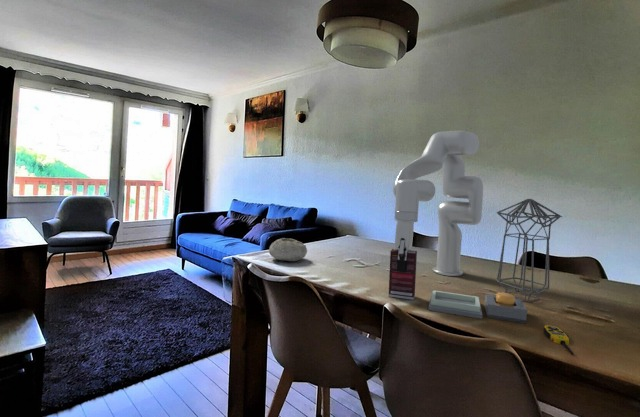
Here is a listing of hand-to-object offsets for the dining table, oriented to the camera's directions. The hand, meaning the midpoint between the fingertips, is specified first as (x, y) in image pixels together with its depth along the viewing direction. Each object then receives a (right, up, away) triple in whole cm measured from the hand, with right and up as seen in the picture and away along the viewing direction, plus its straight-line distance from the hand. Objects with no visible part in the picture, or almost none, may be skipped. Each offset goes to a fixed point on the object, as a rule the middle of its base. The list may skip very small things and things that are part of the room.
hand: (403, 269), depth 117 cm
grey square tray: (+15, -11, -7) cm, 20 cm away
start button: (+28, -9, -12) cm, 32 cm away
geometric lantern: (+43, -11, +5) cm, 45 cm away
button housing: (+28, -12, -12) cm, 32 cm away
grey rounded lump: (-44, -4, +46) cm, 64 cm away
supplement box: (0, -10, +1) cm, 10 cm away
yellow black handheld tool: (+33, -14, -29) cm, 46 cm away
